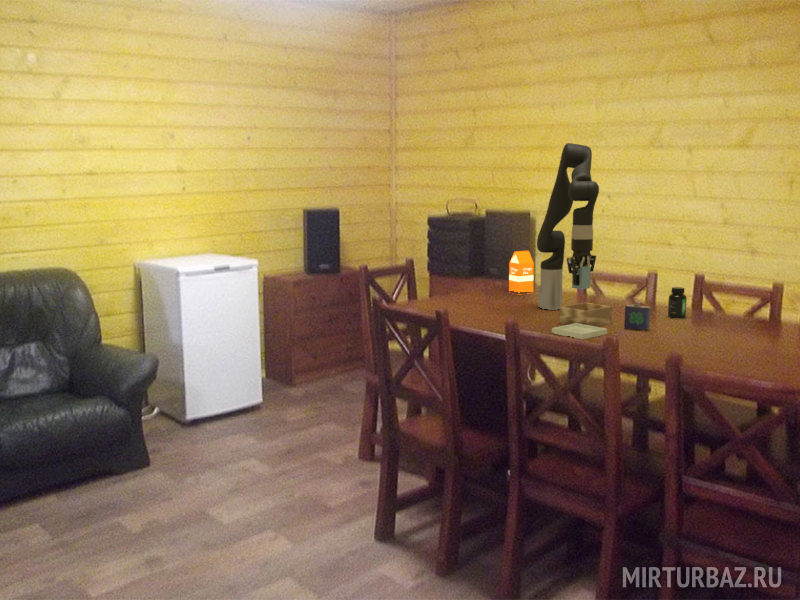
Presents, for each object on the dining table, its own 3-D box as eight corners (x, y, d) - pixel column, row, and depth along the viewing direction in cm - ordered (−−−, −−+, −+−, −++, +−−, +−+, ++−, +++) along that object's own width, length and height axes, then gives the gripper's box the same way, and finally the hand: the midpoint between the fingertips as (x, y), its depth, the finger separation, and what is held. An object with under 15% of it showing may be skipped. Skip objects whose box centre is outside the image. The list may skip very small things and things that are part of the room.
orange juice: (533, 292, 390) (534, 251, 387) (518, 294, 386) (519, 252, 382) (523, 290, 397) (523, 249, 393) (508, 292, 392) (509, 250, 389)
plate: (551, 333, 299) (551, 327, 299) (576, 328, 307) (576, 323, 307) (582, 339, 288) (582, 334, 288) (607, 334, 297) (607, 328, 296)
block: (571, 287, 295) (572, 265, 294) (580, 286, 298) (580, 264, 297) (581, 289, 292) (582, 267, 290) (589, 288, 295) (590, 266, 293)
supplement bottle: (688, 319, 324) (689, 289, 322) (671, 319, 324) (672, 289, 322) (682, 315, 330) (683, 286, 328) (665, 315, 330) (666, 286, 328)
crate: (559, 323, 317) (559, 306, 316) (585, 318, 326) (585, 302, 325) (585, 328, 307) (585, 311, 306) (611, 323, 317) (611, 306, 315)
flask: (650, 330, 303) (651, 301, 302) (648, 331, 301) (649, 302, 299) (624, 328, 308) (625, 300, 306) (623, 329, 305) (624, 301, 303)
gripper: (586, 235, 299) (585, 281, 302) (560, 238, 290) (559, 285, 293) (603, 236, 293) (601, 283, 296) (577, 239, 285) (576, 287, 288)
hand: (580, 284), depth 295 cm, fingers closed on block, 4 cm apart
